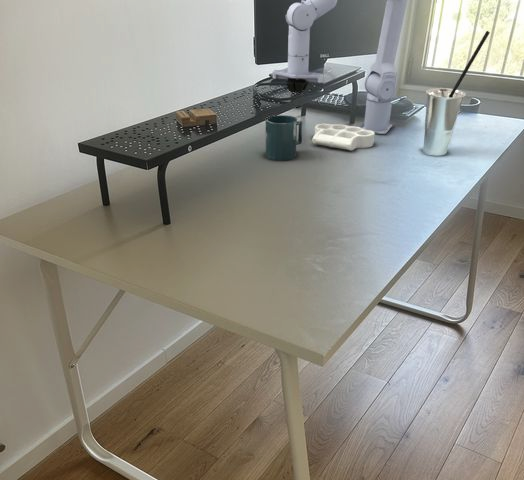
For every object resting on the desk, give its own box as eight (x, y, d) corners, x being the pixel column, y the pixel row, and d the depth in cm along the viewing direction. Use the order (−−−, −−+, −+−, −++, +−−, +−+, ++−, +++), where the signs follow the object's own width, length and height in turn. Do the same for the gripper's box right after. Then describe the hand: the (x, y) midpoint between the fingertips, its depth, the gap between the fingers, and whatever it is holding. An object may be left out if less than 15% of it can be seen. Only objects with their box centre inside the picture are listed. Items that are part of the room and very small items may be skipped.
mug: (278, 162, 147) (278, 125, 142) (259, 154, 153) (259, 118, 147) (310, 154, 153) (312, 118, 147) (291, 146, 158) (292, 111, 152)
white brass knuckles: (301, 144, 159) (324, 131, 169) (360, 155, 152) (379, 140, 162) (302, 132, 157) (324, 120, 167) (361, 142, 150) (381, 128, 160)
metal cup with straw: (463, 159, 149) (490, 31, 131) (420, 158, 149) (442, 31, 131) (452, 146, 158) (477, 24, 139) (413, 146, 158) (432, 24, 139)
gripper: (268, 55, 151) (268, 108, 159) (318, 59, 146) (316, 113, 155) (278, 51, 156) (277, 102, 164) (327, 54, 151) (324, 107, 160)
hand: (296, 107), depth 160 cm, fingers closed
